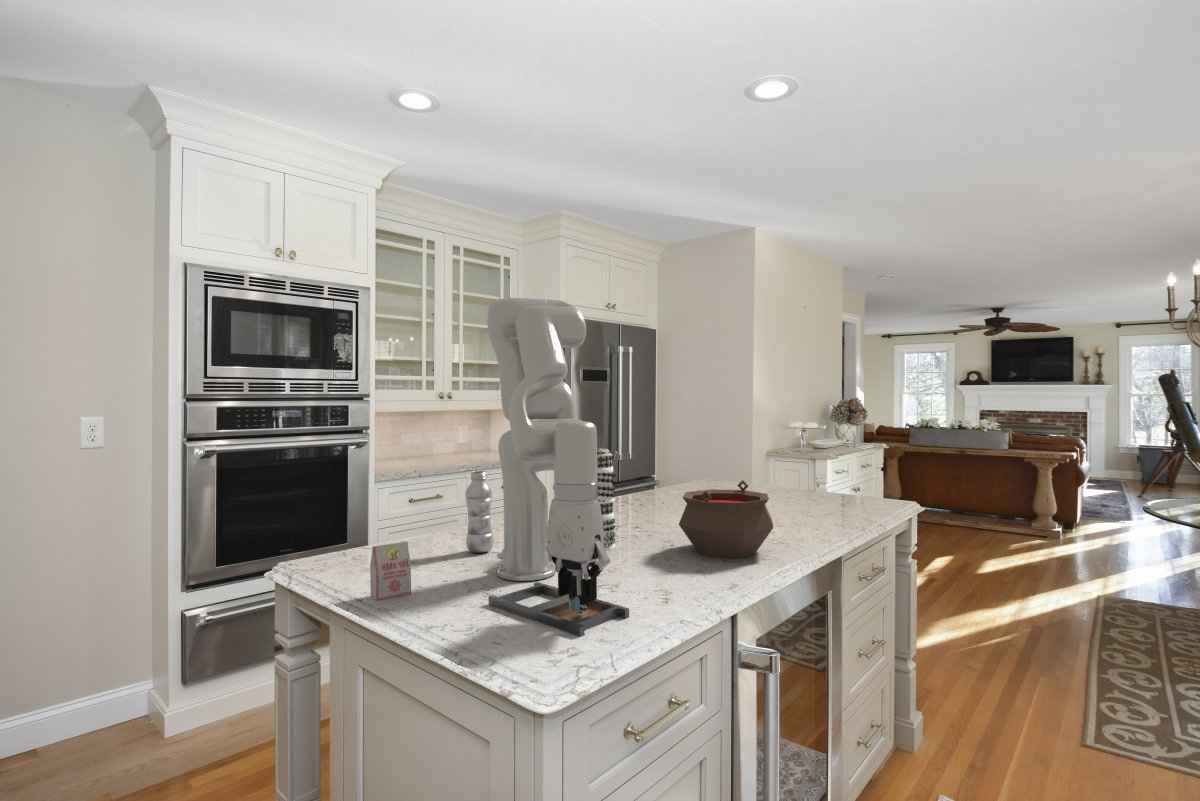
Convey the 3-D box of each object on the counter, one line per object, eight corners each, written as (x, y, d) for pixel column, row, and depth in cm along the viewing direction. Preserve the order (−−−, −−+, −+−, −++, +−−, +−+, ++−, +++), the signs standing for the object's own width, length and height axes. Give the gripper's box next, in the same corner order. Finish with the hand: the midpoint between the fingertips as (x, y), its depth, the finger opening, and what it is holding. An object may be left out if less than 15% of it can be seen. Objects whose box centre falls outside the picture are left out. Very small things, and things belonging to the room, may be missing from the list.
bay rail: (488, 604, 117) (488, 596, 117) (537, 589, 126) (537, 582, 126) (579, 636, 101) (579, 627, 101) (629, 616, 109) (629, 608, 109)
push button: (599, 614, 107) (598, 555, 107) (569, 618, 105) (568, 558, 105) (588, 603, 113) (587, 547, 113) (559, 606, 111) (558, 549, 111)
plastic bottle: (491, 555, 154) (489, 473, 154) (463, 555, 154) (462, 473, 154) (495, 548, 161) (494, 470, 161) (469, 549, 161) (468, 470, 161)
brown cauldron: (704, 536, 172) (703, 476, 172) (791, 547, 158) (790, 482, 158) (659, 554, 152) (658, 487, 152) (753, 569, 138) (752, 494, 138)
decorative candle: (589, 552, 155) (587, 451, 155) (575, 545, 164) (574, 448, 163) (622, 548, 159) (621, 449, 159) (607, 541, 167) (606, 447, 167)
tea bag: (370, 596, 123) (369, 544, 123) (404, 589, 127) (404, 539, 127) (376, 600, 120) (375, 548, 120) (411, 593, 124) (410, 543, 124)
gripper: (527, 490, 113) (528, 592, 113) (596, 500, 101) (598, 614, 101) (558, 485, 118) (559, 583, 118) (627, 494, 106) (628, 602, 106)
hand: (577, 596), depth 110 cm, fingers closed on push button, 5 cm apart
